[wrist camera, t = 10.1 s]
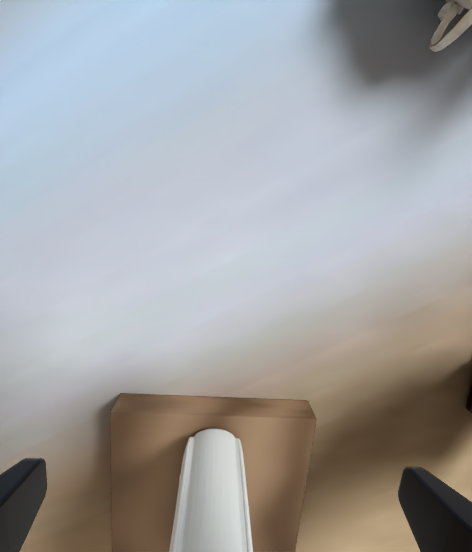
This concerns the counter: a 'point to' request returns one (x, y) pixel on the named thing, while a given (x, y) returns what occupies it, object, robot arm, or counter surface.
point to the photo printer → (212, 496)
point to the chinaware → (453, 6)
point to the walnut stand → (169, 454)
